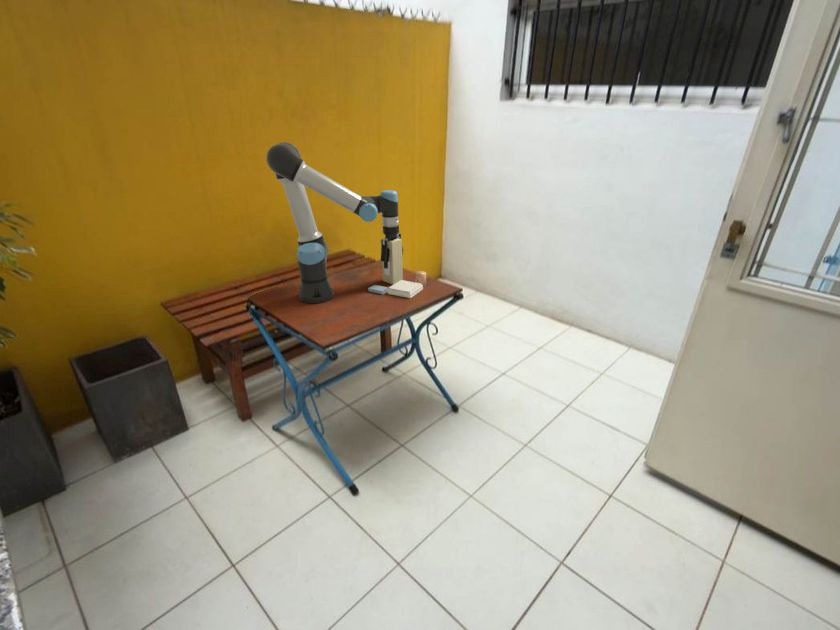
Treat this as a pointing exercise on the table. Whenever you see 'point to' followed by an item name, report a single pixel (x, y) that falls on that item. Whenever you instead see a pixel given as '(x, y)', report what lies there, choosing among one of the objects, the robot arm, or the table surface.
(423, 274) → the peach egg shape
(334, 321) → the table surface
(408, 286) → the podium
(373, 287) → the book
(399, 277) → the tall cream block
